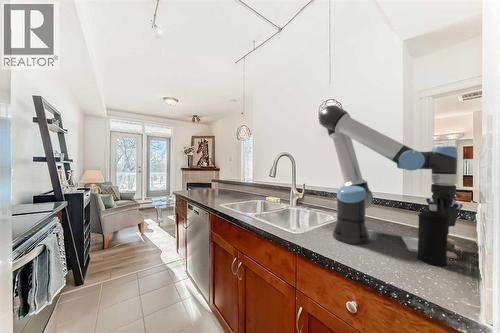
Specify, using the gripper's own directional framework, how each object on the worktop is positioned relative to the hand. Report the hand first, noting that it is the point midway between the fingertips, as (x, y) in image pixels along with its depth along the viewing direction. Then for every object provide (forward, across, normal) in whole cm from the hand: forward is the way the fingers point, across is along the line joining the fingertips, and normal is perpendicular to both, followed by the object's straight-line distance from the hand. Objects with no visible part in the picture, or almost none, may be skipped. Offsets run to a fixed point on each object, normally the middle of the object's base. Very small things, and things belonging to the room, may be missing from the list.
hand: (442, 241), depth 85 cm
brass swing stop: (+1, +1, -4) cm, 4 cm away
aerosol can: (+3, +11, -15) cm, 19 cm away
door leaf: (+2, +2, -4) cm, 5 cm away
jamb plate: (+2, -2, -10) cm, 10 cm away
